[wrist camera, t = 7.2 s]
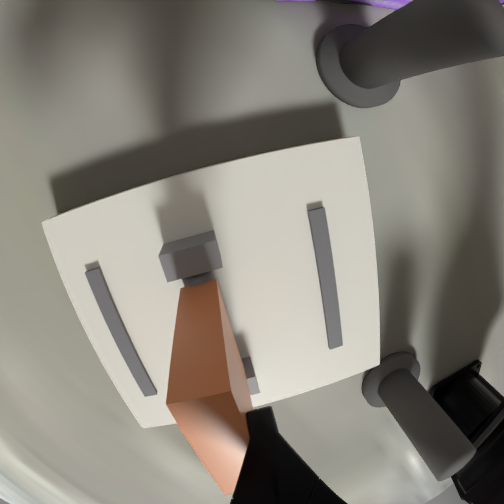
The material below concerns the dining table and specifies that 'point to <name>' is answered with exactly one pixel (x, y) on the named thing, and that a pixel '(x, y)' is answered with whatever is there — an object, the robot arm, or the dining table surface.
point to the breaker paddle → (209, 381)
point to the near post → (408, 47)
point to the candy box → (374, 2)
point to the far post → (418, 414)
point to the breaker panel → (231, 270)
